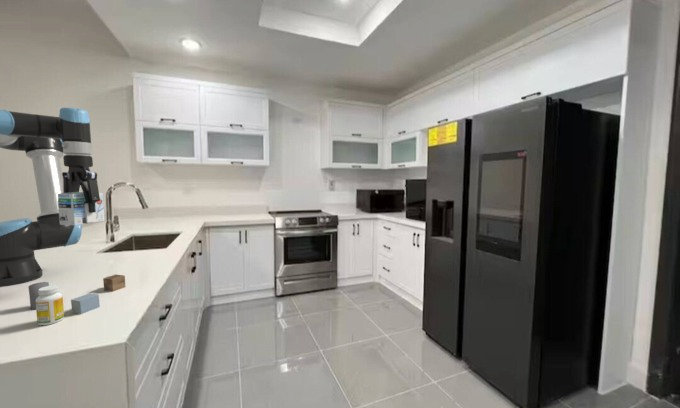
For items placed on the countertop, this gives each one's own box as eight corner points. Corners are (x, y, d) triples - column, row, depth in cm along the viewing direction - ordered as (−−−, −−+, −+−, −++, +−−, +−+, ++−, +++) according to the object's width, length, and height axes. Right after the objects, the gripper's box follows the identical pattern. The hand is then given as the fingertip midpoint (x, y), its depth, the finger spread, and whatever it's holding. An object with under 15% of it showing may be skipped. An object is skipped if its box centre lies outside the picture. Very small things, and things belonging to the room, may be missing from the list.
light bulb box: (74, 226, 98) (71, 193, 97) (58, 225, 100) (55, 193, 99) (106, 221, 109) (103, 191, 108) (91, 220, 110) (88, 191, 109)
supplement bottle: (38, 328, 79) (35, 293, 78) (36, 321, 82) (33, 288, 81) (66, 320, 83) (63, 287, 82) (63, 314, 86) (60, 282, 85)
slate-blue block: (72, 312, 88) (70, 299, 87) (90, 305, 93) (89, 293, 92) (81, 314, 87) (80, 301, 86) (99, 307, 91) (98, 294, 91)
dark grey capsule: (27, 308, 91) (24, 286, 90) (45, 302, 95) (42, 281, 94) (36, 310, 89) (34, 287, 89) (54, 304, 93) (52, 282, 93)
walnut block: (104, 290, 105) (103, 278, 105) (116, 286, 109) (115, 274, 109) (113, 291, 104) (112, 279, 103) (125, 287, 108) (124, 275, 108)
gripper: (45, 154, 101) (51, 221, 104) (86, 154, 95) (91, 224, 98) (70, 156, 108) (76, 218, 111) (110, 155, 102) (114, 221, 105)
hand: (83, 221), depth 104 cm, fingers closed on light bulb box, 7 cm apart
